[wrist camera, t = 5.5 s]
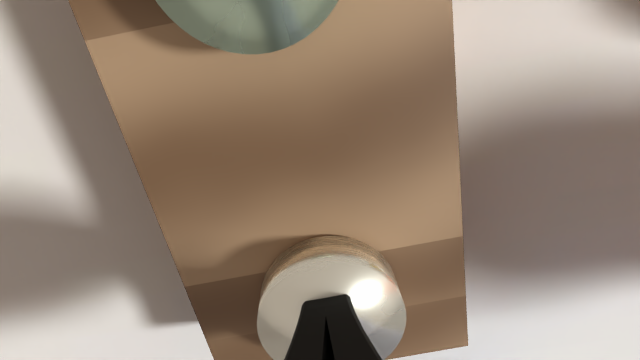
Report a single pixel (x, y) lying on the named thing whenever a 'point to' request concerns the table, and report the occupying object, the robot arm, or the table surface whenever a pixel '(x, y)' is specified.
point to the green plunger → (248, 22)
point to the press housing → (295, 154)
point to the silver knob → (330, 291)
